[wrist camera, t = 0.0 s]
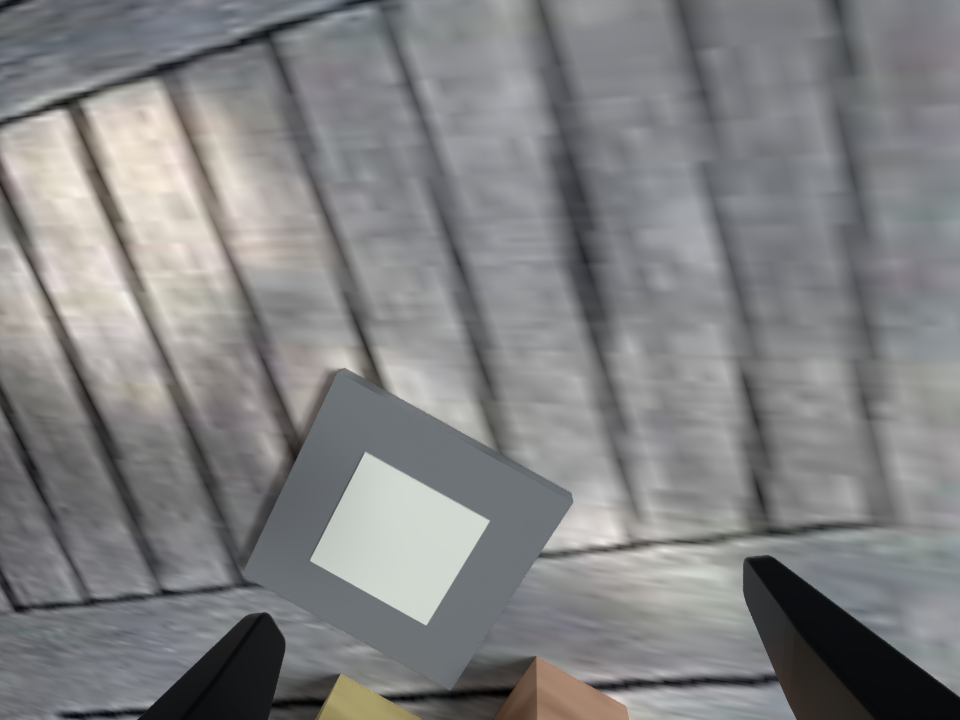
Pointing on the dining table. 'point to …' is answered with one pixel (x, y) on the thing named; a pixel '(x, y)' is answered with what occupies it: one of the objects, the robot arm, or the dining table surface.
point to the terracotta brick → (557, 698)
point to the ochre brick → (359, 704)
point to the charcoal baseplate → (403, 529)
